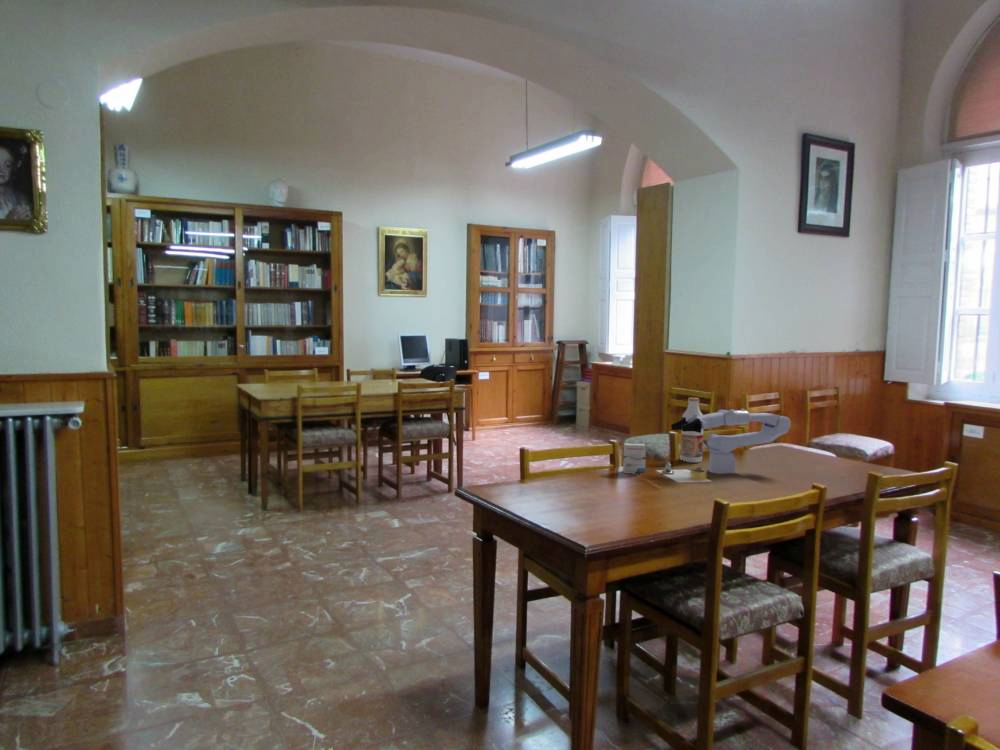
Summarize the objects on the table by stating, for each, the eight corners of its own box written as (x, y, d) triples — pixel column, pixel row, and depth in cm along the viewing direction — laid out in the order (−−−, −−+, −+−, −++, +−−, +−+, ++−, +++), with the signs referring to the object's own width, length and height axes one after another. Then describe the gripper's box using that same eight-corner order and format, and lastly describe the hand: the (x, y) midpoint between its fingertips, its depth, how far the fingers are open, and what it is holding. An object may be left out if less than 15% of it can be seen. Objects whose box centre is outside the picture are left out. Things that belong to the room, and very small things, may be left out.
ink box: (643, 471, 272) (644, 443, 271) (645, 474, 267) (646, 445, 266) (622, 471, 272) (623, 442, 271) (623, 473, 267) (624, 444, 266)
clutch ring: (701, 476, 261) (702, 468, 261) (708, 479, 256) (709, 472, 255) (688, 476, 260) (688, 469, 260) (695, 480, 255) (695, 472, 254)
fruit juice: (677, 458, 300) (680, 396, 297) (698, 458, 300) (701, 397, 297) (682, 462, 291) (685, 399, 288) (704, 463, 290) (707, 399, 288)
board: (687, 471, 273) (687, 459, 273) (712, 483, 254) (712, 471, 253) (655, 472, 270) (656, 460, 270) (678, 485, 251) (678, 472, 250)
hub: (670, 471, 269) (671, 460, 268) (676, 474, 264) (676, 463, 264) (659, 471, 268) (660, 460, 267) (665, 474, 263) (665, 463, 263)
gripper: (695, 410, 273) (665, 416, 270) (715, 412, 260) (685, 419, 256) (697, 427, 274) (668, 434, 270) (718, 430, 260) (688, 437, 256)
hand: (676, 427), depth 263 cm, fingers open, 7 cm apart
